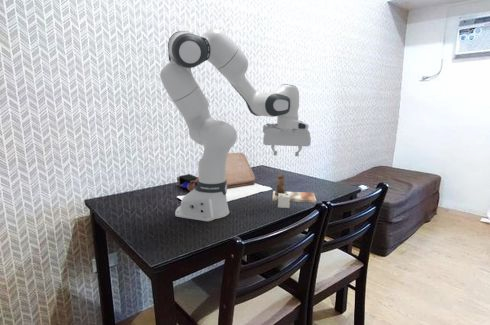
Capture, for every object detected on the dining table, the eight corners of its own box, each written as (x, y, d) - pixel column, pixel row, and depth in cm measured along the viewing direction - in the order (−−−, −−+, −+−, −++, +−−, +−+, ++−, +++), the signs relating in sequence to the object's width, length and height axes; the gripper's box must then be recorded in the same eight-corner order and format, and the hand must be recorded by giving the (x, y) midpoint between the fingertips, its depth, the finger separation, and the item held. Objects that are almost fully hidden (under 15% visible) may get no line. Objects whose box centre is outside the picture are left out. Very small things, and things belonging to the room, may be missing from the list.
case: (223, 190, 156) (223, 160, 152) (208, 179, 174) (208, 153, 170) (256, 184, 166) (257, 156, 162) (239, 175, 184) (239, 150, 180)
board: (272, 200, 141) (272, 197, 141) (273, 193, 152) (273, 190, 151) (316, 202, 139) (316, 199, 138) (313, 195, 149) (313, 192, 149)
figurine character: (176, 189, 161) (189, 193, 148) (175, 175, 160) (187, 178, 147) (187, 186, 165) (201, 191, 152) (186, 173, 164) (199, 176, 151)
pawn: (274, 195, 143) (275, 175, 141) (275, 192, 148) (275, 172, 146) (285, 196, 143) (286, 175, 141) (285, 192, 148) (286, 173, 146)
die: (278, 207, 133) (278, 196, 131) (278, 203, 137) (278, 193, 136) (289, 208, 132) (289, 197, 131) (289, 204, 137) (289, 193, 136)
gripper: (262, 123, 125) (261, 156, 128) (312, 125, 122) (310, 158, 125) (263, 122, 131) (262, 153, 134) (310, 123, 128) (308, 155, 131)
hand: (285, 155), depth 130 cm, fingers open, 8 cm apart
